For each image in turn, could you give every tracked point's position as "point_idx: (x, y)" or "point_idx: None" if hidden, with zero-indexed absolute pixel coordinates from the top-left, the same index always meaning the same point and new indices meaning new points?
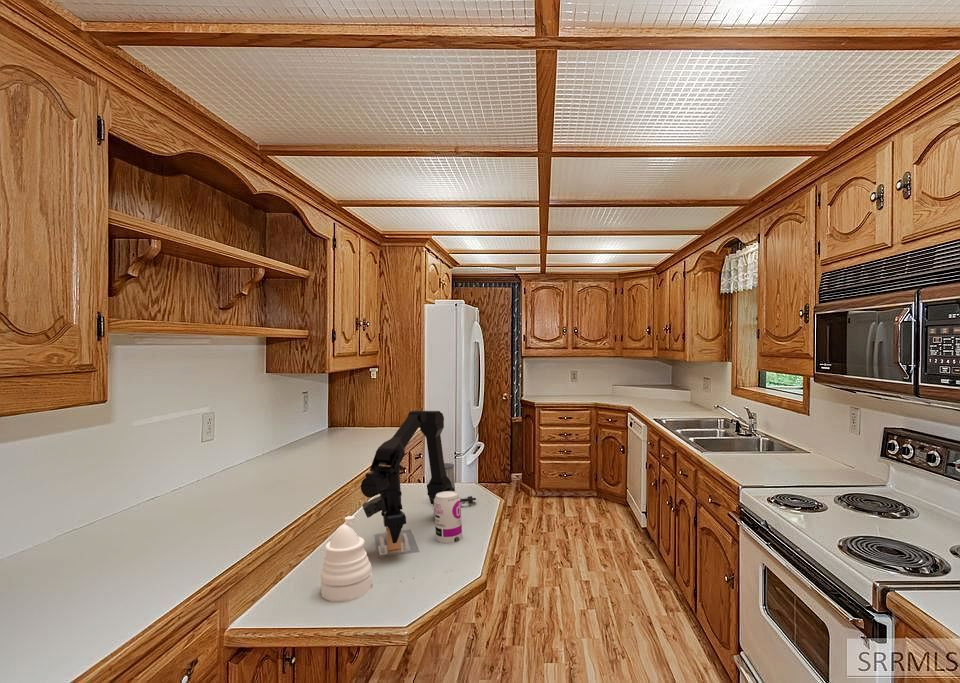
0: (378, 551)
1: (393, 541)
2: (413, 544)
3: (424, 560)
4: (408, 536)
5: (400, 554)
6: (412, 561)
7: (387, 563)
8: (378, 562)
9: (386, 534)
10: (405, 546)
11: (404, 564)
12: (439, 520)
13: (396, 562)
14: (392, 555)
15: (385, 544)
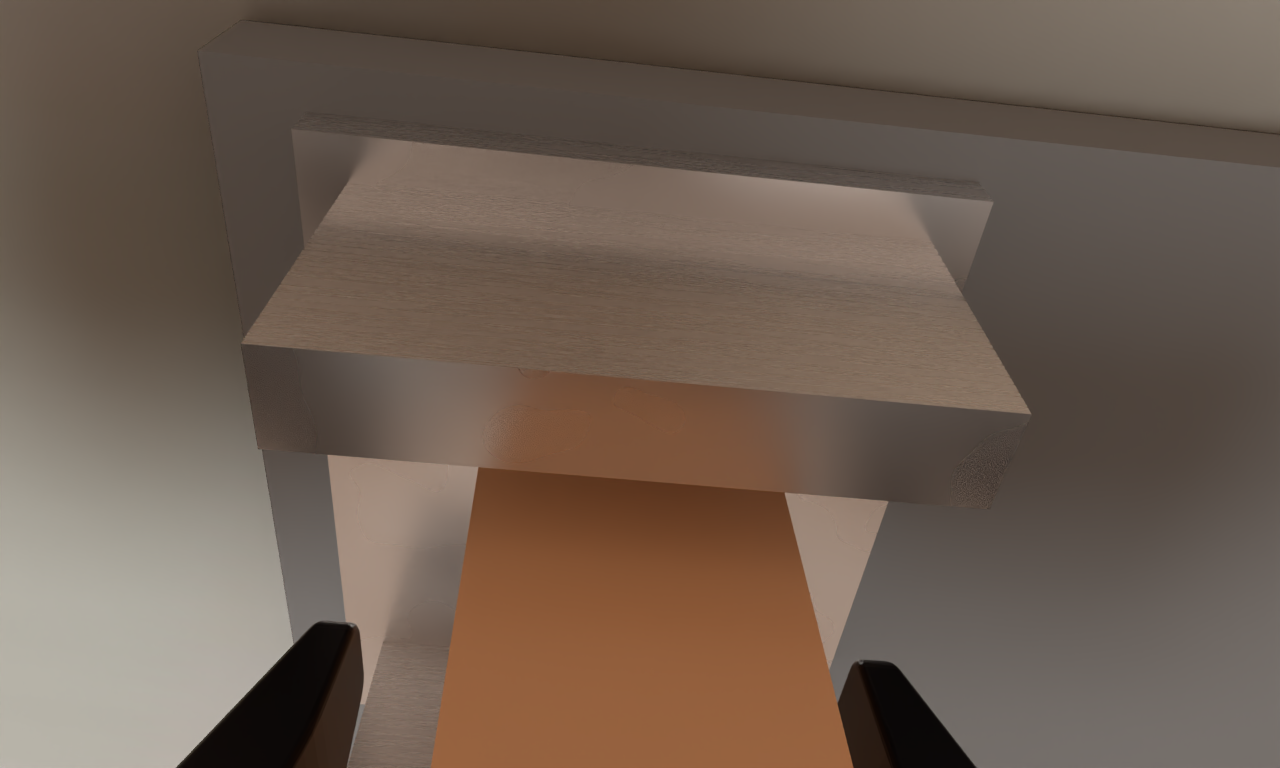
0: (713, 140)
1: (287, 674)
2: None
3: (128, 714)
4: (1113, 762)
5: (288, 527)
6: (127, 591)
7: (132, 205)
8: (251, 13)
9: (622, 698)
10: (363, 711)
11: (13, 472)
12: None
13: (145, 374)
14: None
15: (1066, 377)
